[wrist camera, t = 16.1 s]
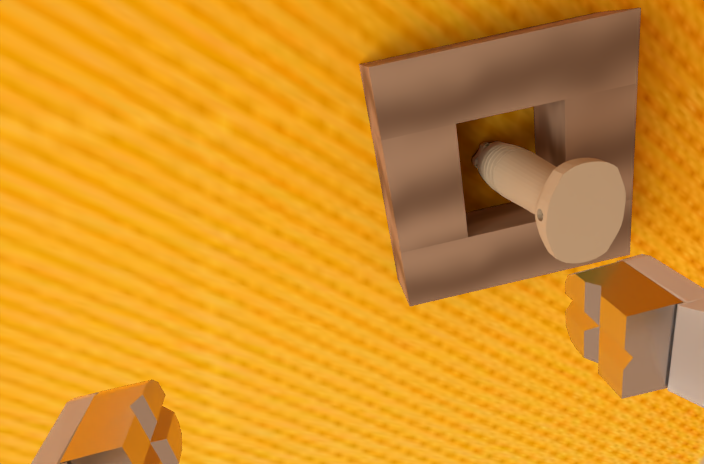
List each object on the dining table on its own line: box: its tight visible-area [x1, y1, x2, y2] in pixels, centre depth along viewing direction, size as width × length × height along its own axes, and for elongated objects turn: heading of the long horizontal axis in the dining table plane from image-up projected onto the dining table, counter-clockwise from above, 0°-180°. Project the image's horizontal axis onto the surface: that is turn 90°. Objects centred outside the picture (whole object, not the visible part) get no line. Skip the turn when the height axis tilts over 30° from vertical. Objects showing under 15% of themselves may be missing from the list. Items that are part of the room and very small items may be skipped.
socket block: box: [359, 8, 641, 306], centre depth 39 cm, size 20×20×5 cm
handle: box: [472, 141, 626, 263], centre depth 34 cm, size 5×6×15 cm
